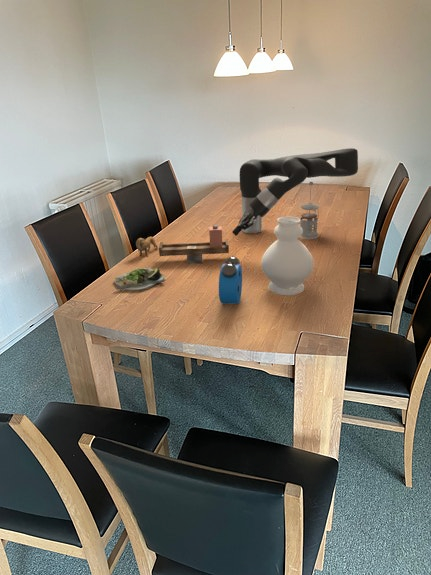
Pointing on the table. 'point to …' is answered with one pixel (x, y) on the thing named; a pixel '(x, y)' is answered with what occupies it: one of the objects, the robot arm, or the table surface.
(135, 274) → the salad plate
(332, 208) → the table surface
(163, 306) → the table surface
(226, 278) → the alarm clock
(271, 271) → the decorative vase
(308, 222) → the french press
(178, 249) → the beam
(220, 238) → the rider
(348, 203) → the table surface
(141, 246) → the lion figurine
